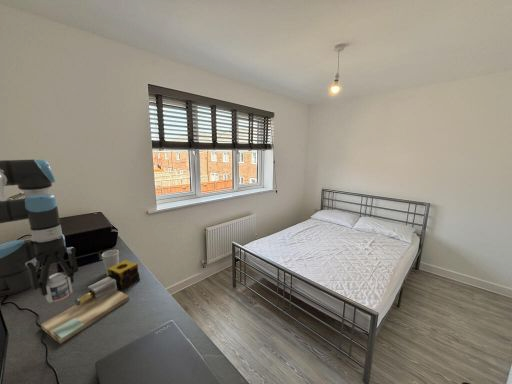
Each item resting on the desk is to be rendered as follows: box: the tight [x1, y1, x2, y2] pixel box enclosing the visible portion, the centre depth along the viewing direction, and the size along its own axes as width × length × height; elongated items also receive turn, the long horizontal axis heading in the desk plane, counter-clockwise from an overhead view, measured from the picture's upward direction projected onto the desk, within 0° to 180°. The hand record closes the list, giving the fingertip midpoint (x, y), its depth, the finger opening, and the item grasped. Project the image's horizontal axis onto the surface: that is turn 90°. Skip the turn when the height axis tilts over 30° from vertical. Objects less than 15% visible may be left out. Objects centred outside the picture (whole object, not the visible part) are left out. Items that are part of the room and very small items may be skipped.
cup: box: [101, 249, 120, 276], centre depth 120 cm, size 8×8×12 cm
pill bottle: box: [47, 272, 70, 302], centre depth 78 cm, size 5×5×9 cm
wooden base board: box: [40, 276, 130, 345], centre depth 91 cm, size 16×26×8 cm, turn 154°
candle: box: [108, 259, 141, 291], centre depth 111 cm, size 10×10×10 cm
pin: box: [74, 291, 95, 306], centre depth 94 cm, size 3×8×3 cm, turn 154°
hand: (60, 296), depth 79 cm, fingers closed on pill bottle, 5 cm apart
